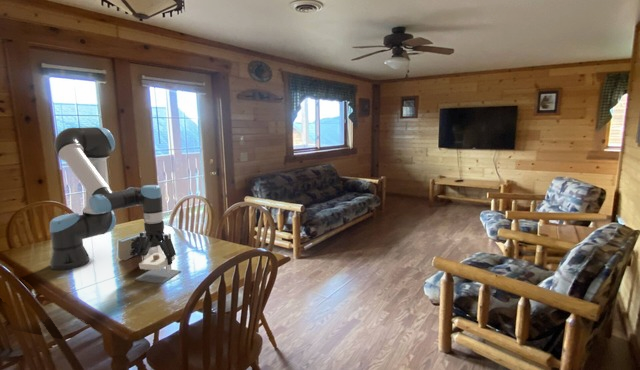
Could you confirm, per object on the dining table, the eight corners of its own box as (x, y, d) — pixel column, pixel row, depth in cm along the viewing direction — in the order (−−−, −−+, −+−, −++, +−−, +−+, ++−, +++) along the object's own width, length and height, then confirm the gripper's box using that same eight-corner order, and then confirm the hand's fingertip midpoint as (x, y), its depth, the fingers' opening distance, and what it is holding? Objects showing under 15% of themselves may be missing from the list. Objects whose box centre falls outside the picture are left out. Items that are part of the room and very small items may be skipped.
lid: (139, 268, 148) (138, 260, 147) (155, 257, 157) (154, 249, 156) (159, 270, 145) (158, 261, 144) (174, 259, 155) (173, 250, 154)
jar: (143, 268, 160) (141, 243, 158) (141, 262, 166) (139, 238, 164) (164, 264, 165) (162, 240, 162) (161, 258, 171) (159, 235, 169)
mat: (135, 280, 148) (134, 278, 148) (154, 268, 160) (154, 267, 159) (163, 283, 145) (163, 282, 145) (181, 271, 156) (181, 270, 156)
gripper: (124, 221, 147) (130, 270, 151) (171, 225, 141) (175, 276, 145) (138, 217, 154) (142, 264, 158) (182, 220, 149) (186, 269, 153)
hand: (158, 270), depth 152 cm, fingers closed on lid, 10 cm apart
